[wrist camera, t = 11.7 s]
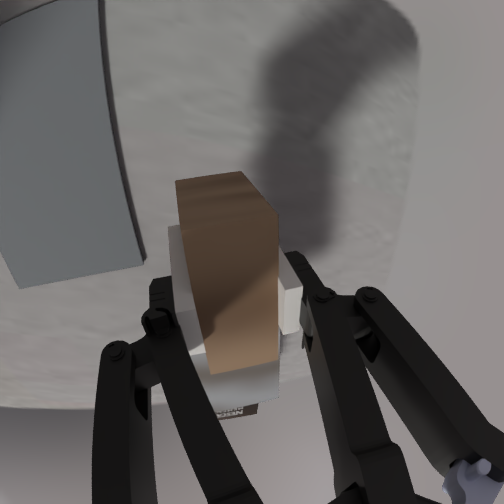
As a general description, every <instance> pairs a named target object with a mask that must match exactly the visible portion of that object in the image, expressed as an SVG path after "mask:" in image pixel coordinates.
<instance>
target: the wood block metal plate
mask: <svg viewBox="0 0 504 504" xmlns="http://www.w3.org/2000/svg"><path fill="white" fill-rule="evenodd" d="M175 185H176V195H177V204H178V213H179V222H180V230H181V236H182V242H183V247H184V253H185V258H186V263H187V269H188V274H189V279H190V284H191V289H192V294H193V299H194V303H195V307H196V312H197V316H198V320H199V325H200V329H201V333H202V337H203V341H204V346H205V351H206V353H201V354H196V355H191V356H190V357H191V359H192V362H193V364H194V366H195V369H196V371H197V374H198V376H199V378H200V380H201V383H202V385H203V387H204V390H205V392H206V394H207V396H208V399H209V401H210V403H211V405H212V407H213V410H214V412H219V411H224V410H229V409H234V408H239V407H243V406H247V405H252V404H256V403H260V402H264V401H267V400H272V399H276V398H279V366H280V327H279V325H278V276H279V225H278V214H277V213H276V212H275V210H274V209H273V208H272V207H271V206H270V204H269V203H268V202H267V201H266V200H265V199H264V197H263V196H262V195H261V194H260V193H259V191H258V190H257V189H256V188H255V187H254V186H253V184H252V183H251V182H250V181H249V180H248V179H247V177H246V176H245V175H244V174H243V173H242V172H241V171H238V172H230V173H222V174H215V175H208V176H202V177H195V178H189V179H182V180H176V181H175Z"/></svg>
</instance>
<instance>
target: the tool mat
mask: <svg viewBox="0 0 504 504" xmlns="http://www.w3.org/2000/svg"><path fill="white" fill-rule="evenodd" d="M0 252H1V254H2V256H3V258H4V260H5V262H6V264H7V266H8V268H9V270H10V272H11V274H12V276H13V278H14V280H15V282H16V284H17V285H18V287H19V289H22V288H27V287H32V286H37V285H43V284H48V283H53V282H58V281H63V280H68V279H73V278H78V277H84V276H89V275H94V274H99V273H104V272H110V271H115V270H120V269H125V268H131V267H136V266H141V265H144V261H143V258H142V254H141V251H140V247H139V244H138V240H137V236H136V233H135V229H134V225H133V221H132V217H131V213H130V209H129V205H128V201H127V197H126V192H125V188H124V184H123V179H122V175H121V170H120V165H119V160H118V155H117V150H116V145H115V139H114V134H113V128H112V122H111V116H110V110H109V103H108V96H107V89H106V81H105V73H104V64H103V54H102V43H101V30H100V13H99V0H58V1H55V2H52V3H50V4H47V5H45V6H42V7H39V8H37V9H35V10H32V11H30V12H28V13H25V14H23V15H21V16H19V17H16V18H14V19H12V20H10V21H8V22H6V23H4V24H2V25H0Z"/></svg>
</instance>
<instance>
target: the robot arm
mask: <svg viewBox="0 0 504 504" xmlns="http://www.w3.org/2000/svg"><path fill="white" fill-rule="evenodd" d="M168 236H169V250H170V263H171V275H172V276H167V277H161V278H156V279H153V281H152V282H151V284H150V286H149V295H150V296H149V301H150V302H149V306H150V308H149V309H148V310H147V311H145V312H144V314H143V316H142V318H141V323H142V325H143V328H144V330H145V332H146V335H145V336H144V337H143V338H142V339H140V340H138V341H136V342H134V343H132V344H128V343H127V342H125V341H118V340H117V341H114V342H111V343H109V344H108V345H106V347H105V348H104V349H103V351H102V354H101V359H100V366H99V374H98V383H97V392H96V402H95V414H94V427H93V445H92V504H158V502H157V492H156V481H155V471H154V456H153V438H152V417H151V415H152V414H151V387H152V386H154V385H157V384H159V383H161V384H162V387H163V390H164V393H165V396H166V399H167V402H168V405H169V408H170V411H171V414H172V416H173V419H174V422H175V425H176V427H177V430H178V432H179V435H180V438H181V440H182V443H183V446H184V448H185V450H186V453H187V455H188V458H189V460H190V463H191V465H192V467H193V470H194V472H195V474H196V477H197V479H198V481H199V483H200V486H201V488H202V490H203V492H204V494H205V497H206V499H207V502H208V504H263V502H262V501H261V499H260V497H259V495H258V494H257V492H256V491H255V489H254V487H253V486H252V485H251V483H250V481H249V479H248V477H247V476H246V474H245V472H244V470H243V468H242V467H241V464H240V462H239V461H238V459H237V457H236V455H235V453H234V451H233V449H232V447H231V445H230V443H229V441H228V439H227V437H226V435H225V433H224V431H223V429H222V427H221V424H220V423H219V420H218V418H217V416H216V414H215V412H214V410H213V407H212V405H211V403H210V401H209V399H208V396H207V394H206V392H205V390H204V387H203V385H202V383H201V380H200V378H199V376H198V374H197V371H196V369H195V366H194V364H193V362H192V359H191V357H190V356H191V355H196V354H201V353H206V351H205V346H204V341H203V337H202V333H201V329H200V325H199V320H198V316H197V312H196V307H195V303H194V299H193V294H192V289H191V284H190V279H189V274H188V269H187V263H186V258H185V253H184V247H183V242H182V236H181V230H180V225H175V226H170V227H168ZM300 324H301V326H302V328H303V330H304V331H303V339H302V349H303V348H304V346H305V348H306V352H307V356H308V360H309V364H310V368H311V373H312V377H313V381H314V385H315V389H316V393H317V398H318V402H319V406H320V410H321V414H322V419H323V423H324V428H325V432H326V437H327V441H328V445H329V450H330V455H331V459H332V463H333V468H334V488H335V493H336V499H334V500H333V501H331V502H330V503H328V504H441V503H438V502H436V501H433V500H430V499H427V498H425V497H422V496H420V495H417V494H415V493H414V490H413V486H412V483H411V479H410V476H409V472H408V469H407V466H406V463H405V459H404V456H403V453H402V451H401V448H400V447H399V446H398V445H397V444H395V443H393V442H392V441H391V439H390V437H389V434H388V431H387V428H386V425H385V422H384V419H383V416H382V413H381V410H380V407H379V404H378V401H377V399H376V395H375V393H374V390H373V387H372V384H371V381H370V378H369V376H368V373H367V370H366V368H367V369H368V371H369V372H370V374H371V375H372V376H373V378H374V379H375V381H376V382H377V384H378V385H379V387H380V388H381V390H382V391H383V393H384V394H385V395H386V397H387V399H388V400H389V402H390V403H391V404H392V406H393V407H394V409H395V410H396V412H397V413H398V415H399V416H400V418H401V419H402V421H403V422H404V424H405V425H406V427H407V428H408V430H409V431H410V433H411V434H412V436H413V437H414V439H415V441H416V442H417V444H418V445H419V447H420V448H421V450H422V451H423V453H424V454H425V456H426V457H427V459H428V460H429V462H430V463H431V464H432V466H433V467H434V468H435V469H436V470H437V471H438V472H439V473H440V474H441V475H442V476H444V477H445V480H444V483H443V485H442V490H443V492H445V493H448V494H449V496H450V497H451V500H452V504H493V502H494V500H495V498H496V497H497V495H498V493H499V491H500V489H501V488H502V486H503V484H504V433H503V432H502V431H500V430H499V429H497V428H496V427H494V426H493V425H491V424H490V423H489V422H488V421H487V420H486V418H485V417H484V415H483V414H482V413H481V411H480V410H479V409H478V407H477V406H476V405H475V403H474V402H473V401H472V400H471V398H470V397H469V395H468V394H467V393H466V392H465V390H464V389H463V388H462V386H460V384H459V383H458V381H457V380H456V379H455V378H454V376H453V375H452V374H451V373H450V371H449V370H448V369H447V368H446V367H445V365H444V364H443V363H442V361H441V360H440V359H439V358H438V357H437V355H436V354H435V353H434V352H433V351H432V349H431V348H430V347H429V346H428V345H427V343H426V342H425V341H424V340H423V339H422V338H421V336H420V335H419V334H418V333H417V332H416V330H415V329H414V328H413V327H412V326H411V325H410V323H409V322H408V321H407V320H406V319H405V318H404V317H403V315H402V314H401V313H400V312H399V311H398V310H397V309H396V308H395V306H394V305H393V304H392V303H391V302H390V301H389V300H388V299H387V297H386V296H385V295H384V294H383V293H382V292H381V291H380V290H378V289H376V288H374V287H368V286H366V287H362V288H360V289H358V290H357V292H356V294H355V295H337V294H336V292H335V291H333V290H332V289H330V288H327V287H325V286H324V285H323V283H322V282H321V280H320V279H319V277H318V276H317V274H316V273H315V271H314V270H313V269H312V267H311V265H310V264H309V263H308V261H307V260H306V258H305V257H304V256H303V255H302V254H300V253H299V252H297V251H293V252H288V253H283V252H282V250H281V248H280V247H279V276H278V325H279V327H280V329H281V331H282V334H283V335H286V334H290V333H293V332H297V331H299V327H300ZM365 366H366V367H365Z"/></svg>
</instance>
